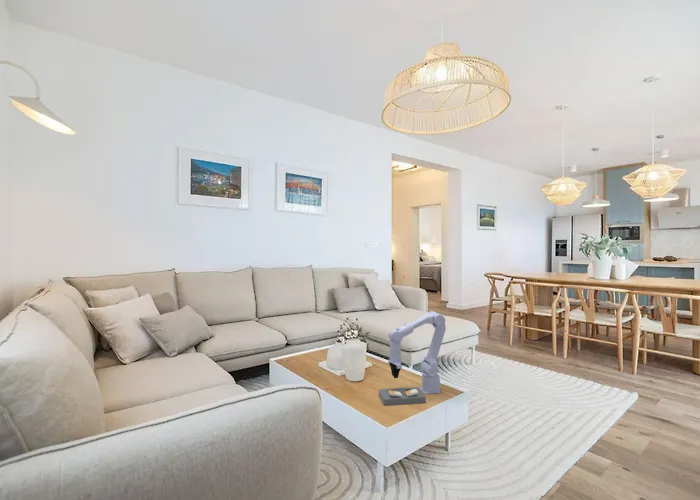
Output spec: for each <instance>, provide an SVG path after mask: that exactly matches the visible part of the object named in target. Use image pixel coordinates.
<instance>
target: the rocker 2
mask: <svg viewBox="0 0 700 500" xmlns="http://www.w3.org/2000/svg"><path fill="white" fill-rule="evenodd" d="M405 394H406V395H407V397H408V396H411V395H415V394H418V391H417V390H416V389H413V390H409V391H405Z"/></svg>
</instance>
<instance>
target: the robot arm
mask: <svg viewBox="0 0 700 500" xmlns="http://www.w3.org/2000/svg"><path fill="white" fill-rule="evenodd" d="M426 324H429V325H432V326H433V328H434V332H433V335H432V339H431V342H430V345H429V348H428V352H427V355H426V356H425V357H423V360H422V361H421V362H420V365H419V368H420V370H421V380H422V381H421V386H419V387H418V388H419V389H420V391H421V392H422V393H423V394H424V395H426V394H427V395H428V394H441V378H440V375H439V374H438V368H439V367H438V366H439V363H438V361H437V359H438V356H439V352H440V351H441V350H440V349H441V347H442V343H443V339H444V336H445V333H446V318H445V317H444V315H443V314H441V313H438V312H435V310H430V311H428V312H426V313H424V314H423V315H422V316H420V317H419V318H417V319H416V320H414V321H412V322H411V323H408V322H407V323H406V322H405V323H403V325H401V326H400V327H396V329H391V330H390V332H389V333H388V335H387V336H388V338H389V343H390V344H389V359H388V360H387V363H388V365H389V367H390V370H391V374H392V377H393V379H398V378H399V375H400V372H401V369H402V368H403V367H402V365H401V364H402V360H401V358H402V357H401V355H402V354H401V347H402V346H401V345H402V343H401V342H402V340H403V339H404V338H405V337H407V336H409V335H411V334H412V333H414V330H416V329H418V328H420V327H422V326H423V325H426Z"/></svg>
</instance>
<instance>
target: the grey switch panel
mask: <svg viewBox="0 0 700 500" xmlns="http://www.w3.org/2000/svg"><path fill="white" fill-rule="evenodd" d="M413 389H416V390H417V391H418V394H415V395H411V396H408V397H407V395H406V394H405V391H409V390H413ZM389 390H391V391H397V392H400V393H401V394H402V397H399V396H393V395H390V393H389ZM378 396H379V398H380V400H381V402H382V404H383V406H398V405H414V404H425V403H426V401H427V400H426V397H427V396H426V395H425V394H424V393H423V392H422V390H421V389H420V388H419V387H418V386H415V387H398V388H381V389H378Z"/></svg>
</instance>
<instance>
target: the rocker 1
mask: <svg viewBox="0 0 700 500" xmlns="http://www.w3.org/2000/svg"><path fill="white" fill-rule="evenodd" d="M389 393H390V395H393V396H399V397H402V394H401V393H400V392H397V391H391V390H389Z"/></svg>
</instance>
